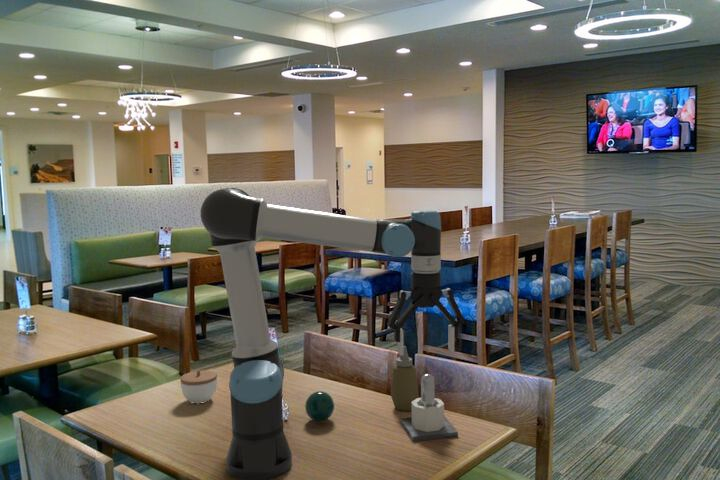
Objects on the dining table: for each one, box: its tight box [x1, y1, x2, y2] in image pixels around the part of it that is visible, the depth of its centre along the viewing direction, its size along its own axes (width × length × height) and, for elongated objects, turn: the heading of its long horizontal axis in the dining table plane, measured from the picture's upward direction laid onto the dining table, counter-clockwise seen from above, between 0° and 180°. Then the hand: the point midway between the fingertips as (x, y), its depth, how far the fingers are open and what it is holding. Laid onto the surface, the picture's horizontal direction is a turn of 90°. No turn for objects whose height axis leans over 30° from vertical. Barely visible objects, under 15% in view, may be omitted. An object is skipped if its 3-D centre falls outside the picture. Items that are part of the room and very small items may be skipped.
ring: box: [410, 397, 445, 432], centre depth 156 cm, size 8×8×6 cm
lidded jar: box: [179, 369, 218, 403], centre depth 181 cm, size 11×11×9 cm
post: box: [399, 373, 459, 442], centre depth 155 cm, size 12×12×15 cm
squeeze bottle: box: [390, 345, 420, 412], centre depth 170 cm, size 8×8×18 cm
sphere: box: [304, 390, 335, 422], centre depth 163 cm, size 8×8×8 cm
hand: (426, 352), depth 154 cm, fingers open, 13 cm apart
